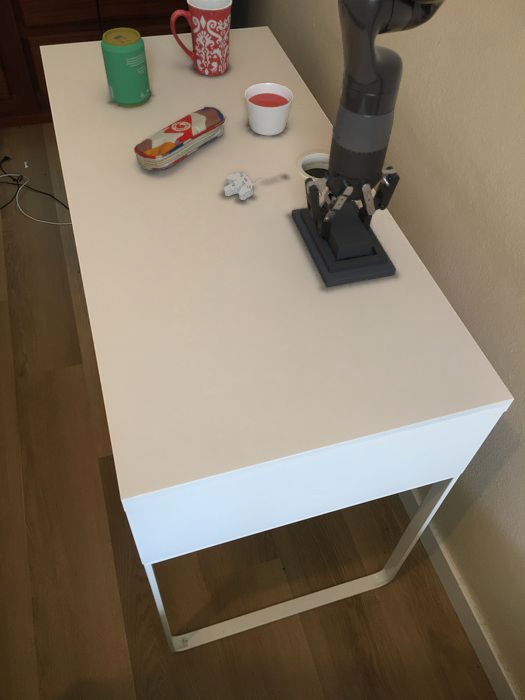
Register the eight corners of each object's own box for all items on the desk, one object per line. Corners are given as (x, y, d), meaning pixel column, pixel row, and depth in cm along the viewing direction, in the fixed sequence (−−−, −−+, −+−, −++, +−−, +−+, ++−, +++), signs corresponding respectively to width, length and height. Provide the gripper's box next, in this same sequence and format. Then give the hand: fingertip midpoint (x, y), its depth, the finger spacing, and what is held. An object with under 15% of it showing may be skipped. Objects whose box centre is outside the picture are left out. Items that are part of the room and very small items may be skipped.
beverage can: (131, 84, 119) (122, 22, 110) (159, 97, 116) (152, 35, 107) (102, 98, 115) (90, 36, 106) (129, 112, 112) (120, 49, 103)
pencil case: (121, 153, 104) (117, 127, 100) (210, 119, 112) (209, 95, 108) (154, 183, 99) (150, 157, 95) (244, 146, 107) (244, 121, 103)
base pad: (394, 274, 87) (397, 264, 85) (326, 287, 85) (328, 277, 83) (353, 205, 97) (355, 195, 95) (291, 215, 95) (292, 204, 93)
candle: (291, 116, 114) (294, 84, 109) (289, 141, 108) (291, 109, 103) (246, 112, 114) (247, 81, 109) (241, 137, 108) (242, 105, 103)
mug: (228, 56, 128) (227, -11, 117) (236, 76, 123) (236, 8, 112) (171, 60, 126) (165, -8, 115) (177, 81, 121) (171, 11, 110)
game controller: (215, 190, 98) (215, 177, 96) (262, 163, 103) (263, 150, 101) (239, 205, 96) (239, 192, 94) (285, 177, 101) (286, 164, 99)
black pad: (370, 254, 87) (373, 241, 85) (336, 259, 86) (339, 247, 84) (346, 213, 93) (349, 200, 91) (314, 218, 92) (316, 205, 90)
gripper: (319, 157, 72) (306, 257, 85) (423, 142, 75) (394, 242, 88) (300, 125, 76) (291, 225, 90) (399, 113, 79) (375, 211, 93)
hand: (342, 233), depth 89 cm, fingers closed on black pad, 5 cm apart
